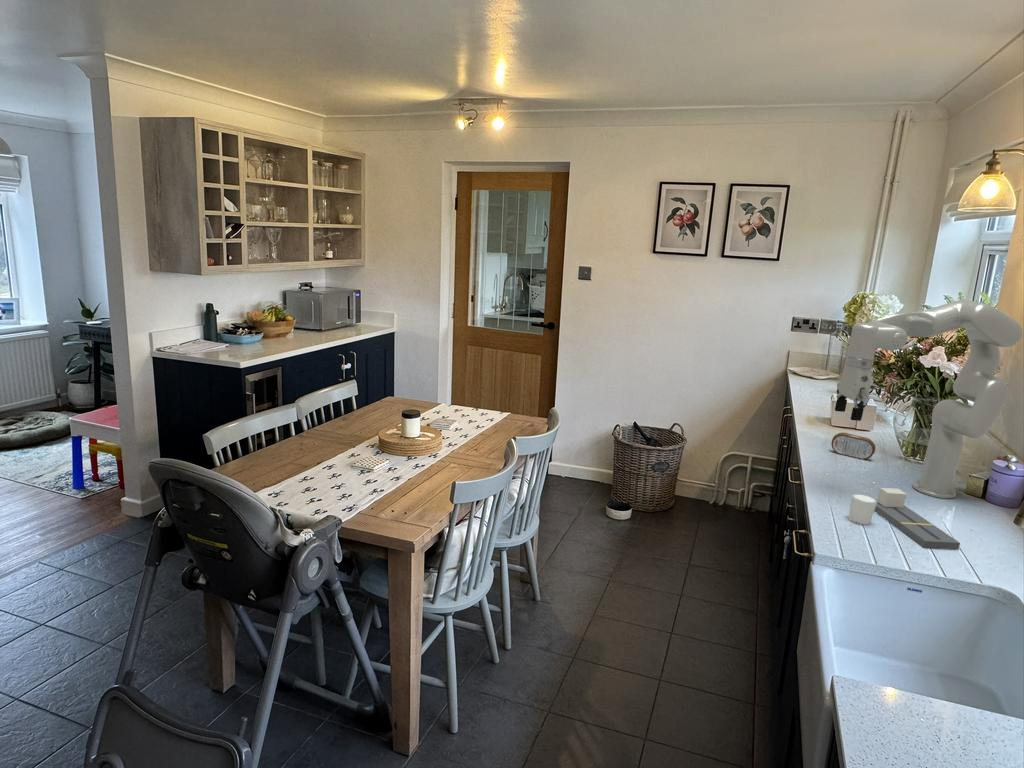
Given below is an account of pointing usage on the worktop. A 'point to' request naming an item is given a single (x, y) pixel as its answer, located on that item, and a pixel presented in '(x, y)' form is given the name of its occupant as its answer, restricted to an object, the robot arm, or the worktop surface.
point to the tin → (853, 446)
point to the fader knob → (891, 497)
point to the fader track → (917, 527)
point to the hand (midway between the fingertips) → (847, 415)
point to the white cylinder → (862, 508)
